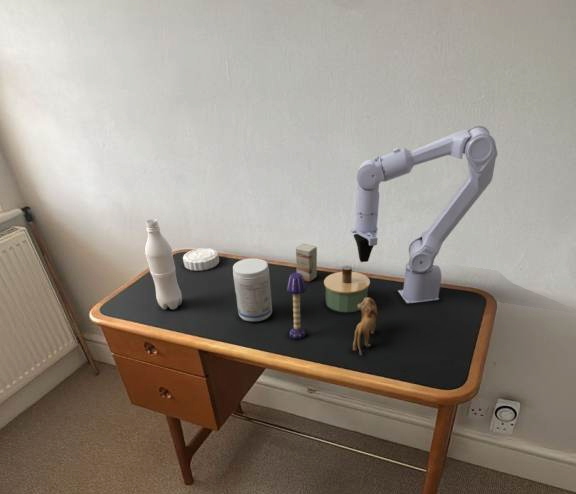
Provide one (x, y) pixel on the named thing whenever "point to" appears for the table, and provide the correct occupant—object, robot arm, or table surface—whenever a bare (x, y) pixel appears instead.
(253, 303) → the supplement tub
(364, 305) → the lion figurine
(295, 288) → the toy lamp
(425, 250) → the robot arm
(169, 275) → the water bottle
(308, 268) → the beige rectangular box
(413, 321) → the table surface
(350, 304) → the canister
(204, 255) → the mooncake
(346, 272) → the lid
